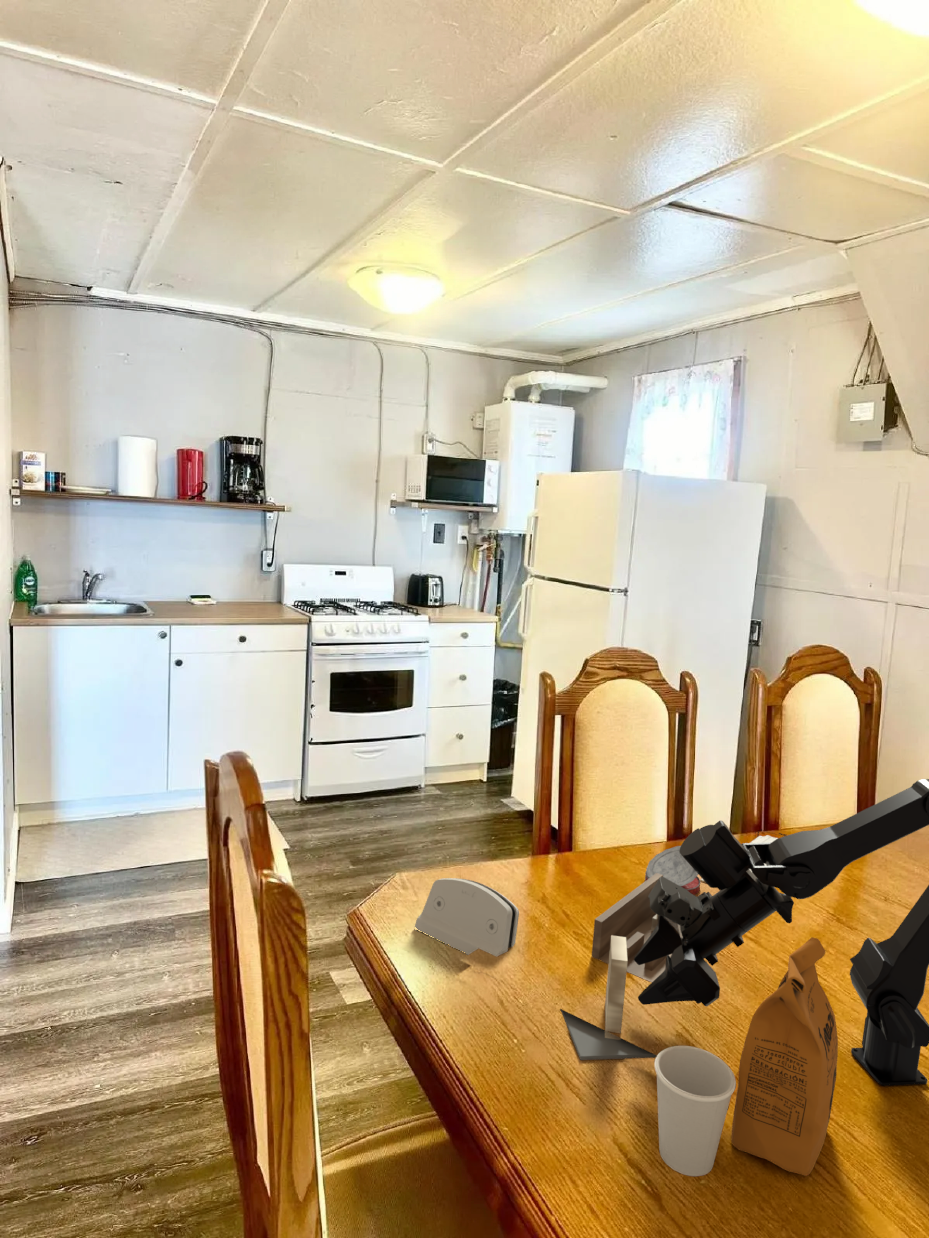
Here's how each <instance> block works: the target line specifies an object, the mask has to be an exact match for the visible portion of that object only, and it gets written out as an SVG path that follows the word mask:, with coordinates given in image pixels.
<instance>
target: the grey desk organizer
mask: <svg viewBox="0 0 929 1238" xmlns="http://www.w3.org/2000/svg"><path fill="white" fill-rule="evenodd" d="M660 877H663V875H661V874H659V873H656V874H654V875H653V876H652V877H650V878H649V879H648V880H646V881H645V880H644V882H642V883H641V884H640V885H639V886H637V887H636V888H634V889H633V890H632V891H630V892H629V893H628V894H627V895H625V896H624V897H622V898H621V899H620V900H618V901H617V902H616V903H615V904H613V905H611V906H610V907H609V908H608V909H606V910H605V911H604V912H603V913H601V914H600V915H599V916H596V918H594V921H593V922H594V924H593V925H594V926H593V934H592V935H593V936H592V937H593V938H592V947H591V958H594V959H595V960H598V961H600V962H603V963H605V964H607V965H608V964H609V953H610V941H611V935H613V936H620V937H626V945H627V960H628V962H627V974H628V973H629V974H631V975H633V976H635V977H639V978H641V979H642V980H645V981H648V982H650V983H652V982H653V981H654V980H655V979H656V978H657V977H658V976H659V975H660V974H662V973H663V972H664V971H665V967H666V958H667V956H665V957H662V958H659V959H657V960H654V961H651V962H648V963H645V964H641V965H638V964H637V963H636V962H635V961H634V957H635V956H636V954H637V953H638V952H639V950H640V949H641V947H642V946H643V945H644V943H645V942H646V941H647V939H648V938H649V936H650V935H651V934H652V932H653V931H651V928H652V918H653V917H654V916H655V915H656V913H655V912H653V911H652V910H651V908H650V899H649V898H648V896H649V894H650V892H651V891H652V889H653V888H654V886H655V884H656V883H657V881H658V879H659V878H660ZM671 955H672V954H670V955H669V956H670V958H671Z"/></svg>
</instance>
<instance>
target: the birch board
mask: <svg viewBox="0 0 929 1238" xmlns="http://www.w3.org/2000/svg"><path fill="white" fill-rule="evenodd" d="M627 962H628V960H627V945H626V937H620V936H613V935H611V941H610V953H609V964H607V965H608V966H607V967H608V968H607V977H606V987H605V1002H604V1017H605V1018H604V1021H605V1023H604V1030H605V1038H610V1039H617V1040H620V1039H621V1038H622V1037H619V1036H617V1035H615V1034H613V1033H617V1034H622V1027H623V1016H624V1004H625V995H626V993H625V992H626V991H625V990H626V981H627V980H626V979H627V974H628V972H627Z"/></svg>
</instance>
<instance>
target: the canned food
mask: <svg viewBox="0 0 929 1238" xmlns="http://www.w3.org/2000/svg"><path fill="white" fill-rule="evenodd" d="M680 847H681V845H676V846H673V847H671V848H667V849H664V850H663V851H661V852H660V853H657V854H656V855H654V856H653V858H651V860H649V862H648V863H647V864H648V865H647V867H646V871H645V877H644V882H645V881H646V880H648V879H649V878H650V877H652V876H653V875H654V874H656V873H659V874H661V875H663V877H664V878H666V879H668V880H670V881H672V882H673V883H675V884H677V885H679V886H681V887H682V888H684V889H686V890H687V891H689V892H690V893H691V894H693V895H695V896H696V894H698V893H699V892H700V888H701V881H700V880H701V879H700V878H699V877H698V875H699V874H698V873H697V872H696V871H695V870H694V869H693V868H692V866H691V865H690V864H689V863H688V862H687V861H686V860H685V859H684V857H683V856H682V855H681V854H680V852H679V851H680Z"/></svg>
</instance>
